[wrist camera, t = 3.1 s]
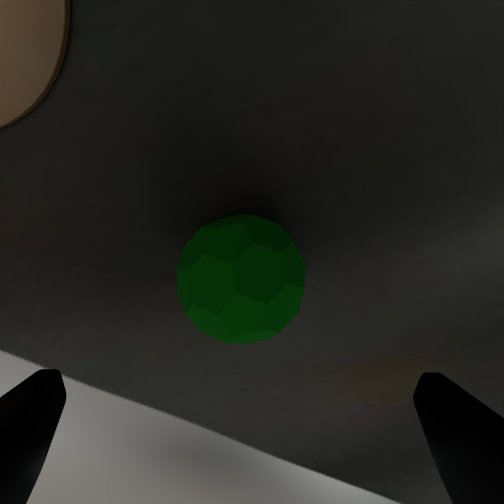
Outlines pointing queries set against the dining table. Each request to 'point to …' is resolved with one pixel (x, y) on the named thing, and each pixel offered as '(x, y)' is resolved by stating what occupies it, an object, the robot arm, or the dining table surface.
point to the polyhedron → (241, 279)
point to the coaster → (30, 53)
